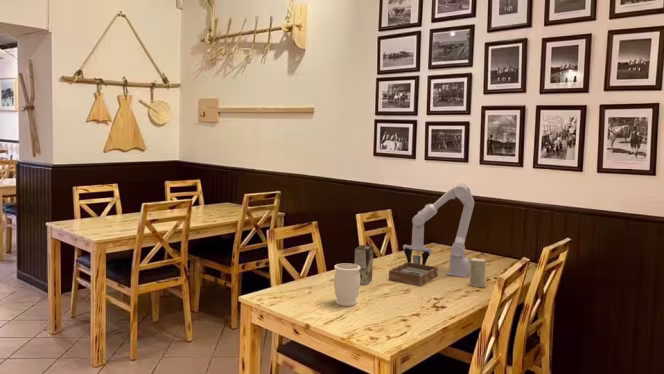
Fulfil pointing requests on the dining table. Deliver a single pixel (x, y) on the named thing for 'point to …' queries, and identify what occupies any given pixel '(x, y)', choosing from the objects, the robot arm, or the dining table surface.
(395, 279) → the box
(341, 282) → the jar
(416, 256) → the peg
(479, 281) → the skincare box
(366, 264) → the coffee box
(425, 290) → the dining table surface
